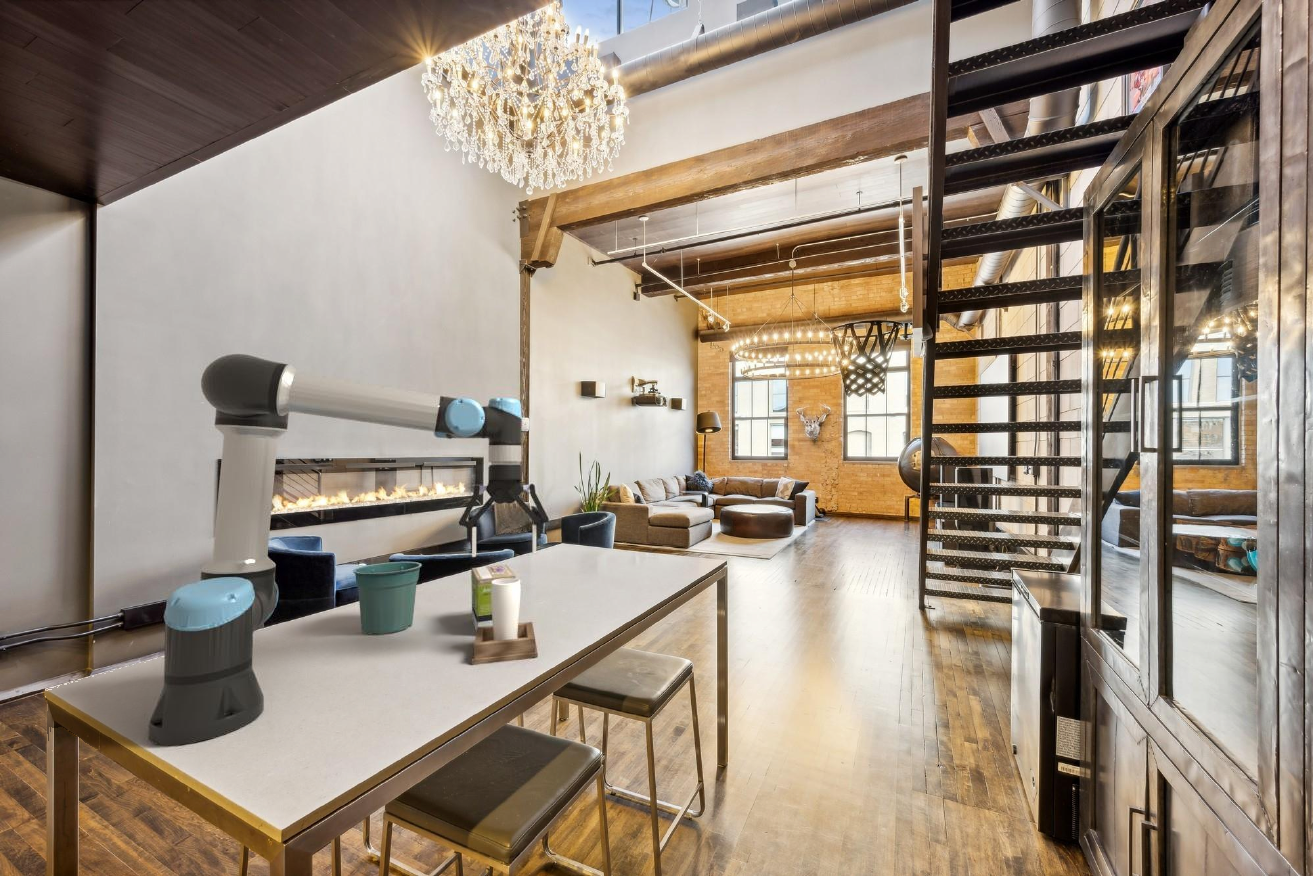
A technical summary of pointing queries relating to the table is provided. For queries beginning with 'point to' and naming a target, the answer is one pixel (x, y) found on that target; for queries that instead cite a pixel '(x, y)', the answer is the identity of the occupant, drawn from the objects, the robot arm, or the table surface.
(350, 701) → the table surface
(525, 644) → the walnut dock
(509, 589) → the drinking glass
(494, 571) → the tea box
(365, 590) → the flower pot
